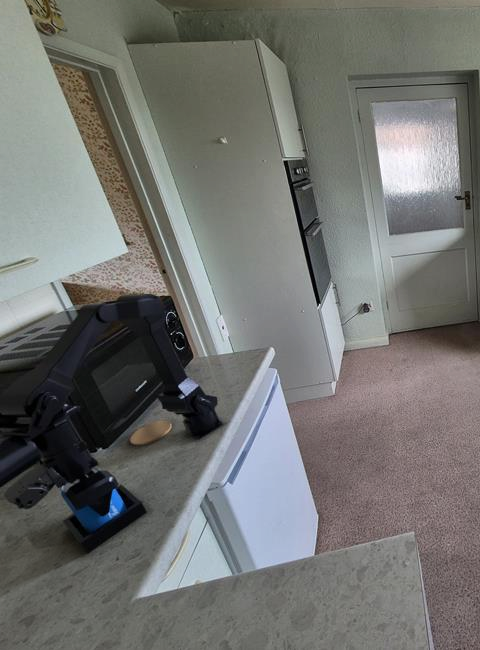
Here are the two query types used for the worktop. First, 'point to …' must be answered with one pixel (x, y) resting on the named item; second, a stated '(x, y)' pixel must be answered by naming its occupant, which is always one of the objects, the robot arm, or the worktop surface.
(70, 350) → the robot arm
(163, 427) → the coaster
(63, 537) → the worktop surface
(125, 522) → the black rectangular open frame
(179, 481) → the worktop surface
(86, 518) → the beverage can
